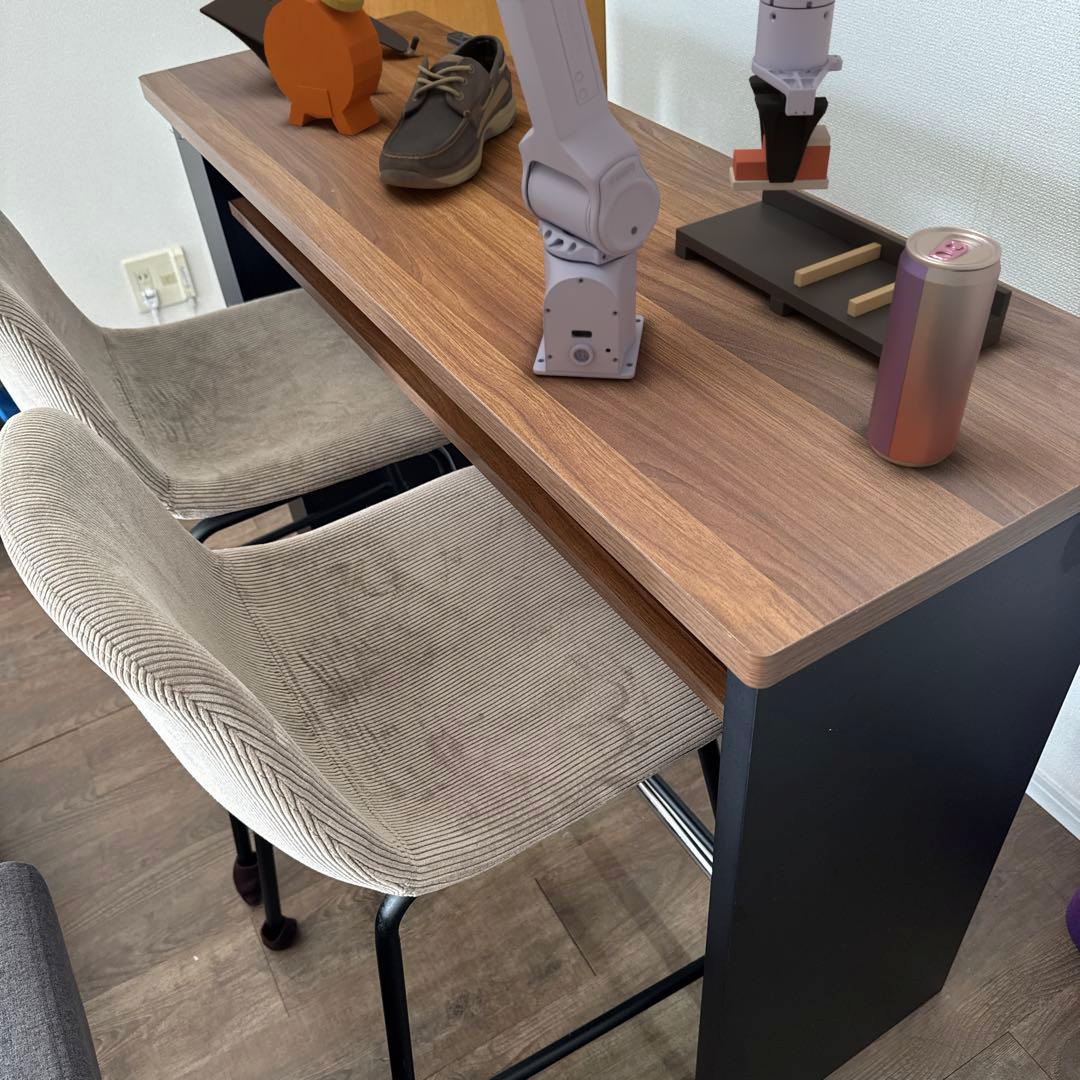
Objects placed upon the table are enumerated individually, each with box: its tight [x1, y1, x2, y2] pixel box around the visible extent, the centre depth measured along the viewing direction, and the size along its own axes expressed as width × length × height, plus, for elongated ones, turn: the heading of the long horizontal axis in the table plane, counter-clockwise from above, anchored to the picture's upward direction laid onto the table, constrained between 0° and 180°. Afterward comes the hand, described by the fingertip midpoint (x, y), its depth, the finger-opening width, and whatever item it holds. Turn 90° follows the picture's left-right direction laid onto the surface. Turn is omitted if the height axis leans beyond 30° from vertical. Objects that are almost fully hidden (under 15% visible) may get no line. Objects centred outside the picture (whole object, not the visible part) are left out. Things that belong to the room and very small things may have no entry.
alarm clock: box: [263, 0, 383, 136], centre depth 123 cm, size 13×6×20 cm, turn 59°
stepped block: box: [728, 124, 832, 192], centre depth 89 cm, size 8×3×4 cm, turn 87°
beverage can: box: [866, 225, 1003, 468], centre depth 70 cm, size 6×6×15 cm
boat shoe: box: [377, 34, 518, 190], centre depth 117 cm, size 11×29×11 cm, turn 166°
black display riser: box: [674, 190, 1013, 359], centre depth 90 cm, size 28×11×4 cm, turn 32°
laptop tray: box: [198, 0, 420, 93], centre depth 143 cm, size 23×23×9 cm
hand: (778, 173), depth 90 cm, fingers closed on stepped block, 3 cm apart
